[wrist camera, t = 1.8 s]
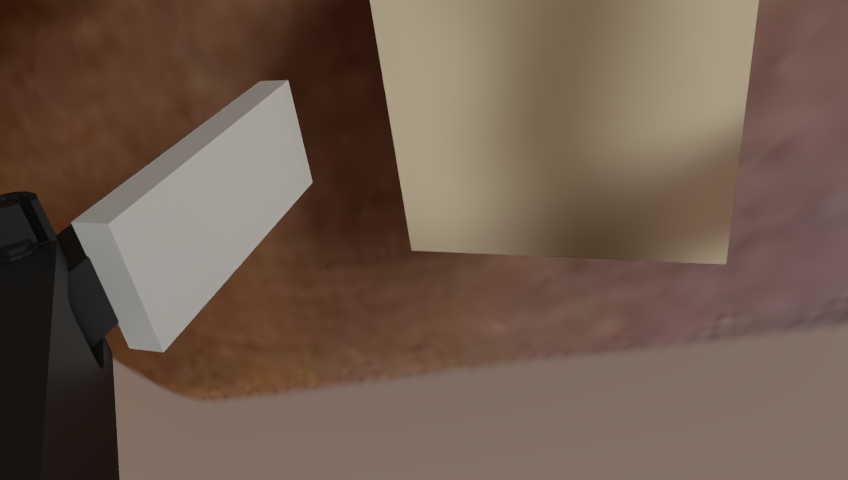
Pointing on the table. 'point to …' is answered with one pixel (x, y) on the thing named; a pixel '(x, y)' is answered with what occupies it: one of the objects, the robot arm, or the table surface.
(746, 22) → the birch cube
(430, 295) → the table surface
